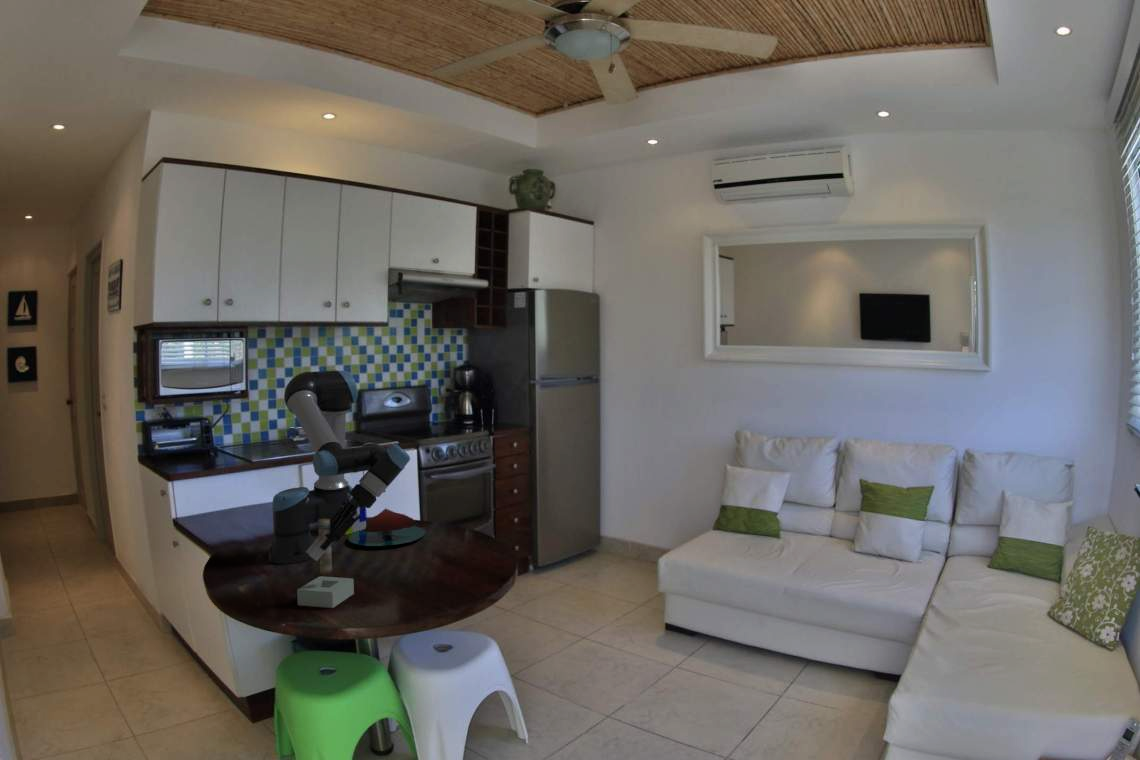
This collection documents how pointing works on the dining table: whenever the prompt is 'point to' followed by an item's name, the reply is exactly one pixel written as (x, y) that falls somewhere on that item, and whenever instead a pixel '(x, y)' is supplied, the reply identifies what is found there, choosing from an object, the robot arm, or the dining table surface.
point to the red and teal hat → (387, 530)
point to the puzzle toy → (358, 523)
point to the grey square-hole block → (325, 592)
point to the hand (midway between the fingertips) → (311, 556)
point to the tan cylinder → (326, 557)
